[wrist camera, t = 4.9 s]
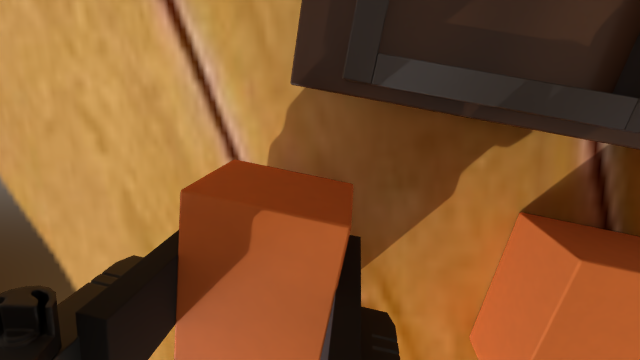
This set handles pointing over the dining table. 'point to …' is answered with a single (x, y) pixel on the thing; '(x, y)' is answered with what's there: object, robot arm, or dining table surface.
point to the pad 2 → (562, 295)
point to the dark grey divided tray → (483, 60)
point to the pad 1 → (259, 263)
